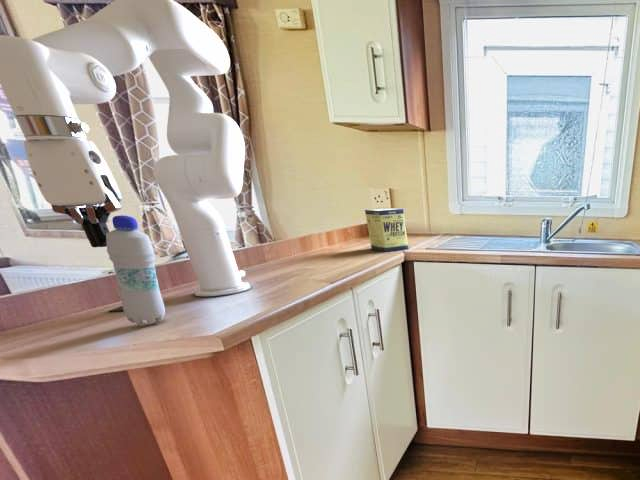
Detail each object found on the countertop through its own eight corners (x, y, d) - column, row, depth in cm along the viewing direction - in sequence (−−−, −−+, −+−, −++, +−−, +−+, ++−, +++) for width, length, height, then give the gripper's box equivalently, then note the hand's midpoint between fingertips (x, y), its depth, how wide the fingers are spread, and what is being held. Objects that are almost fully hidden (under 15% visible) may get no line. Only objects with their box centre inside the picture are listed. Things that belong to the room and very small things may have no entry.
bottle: (162, 314, 89) (141, 213, 80) (173, 323, 85) (152, 219, 77) (120, 318, 84) (93, 211, 76) (130, 328, 80) (102, 217, 72)
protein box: (385, 251, 170) (379, 210, 164) (370, 248, 181) (364, 209, 175) (409, 248, 176) (403, 208, 169) (393, 245, 187) (387, 208, 180)
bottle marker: (125, 306, 99) (124, 305, 99) (147, 305, 100) (147, 303, 100) (108, 312, 95) (108, 310, 95) (132, 310, 95) (131, 309, 95)
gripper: (118, 133, 74) (159, 242, 82) (28, 135, 73) (78, 245, 81) (82, 127, 67) (130, 247, 75) (-18, 130, 66) (42, 251, 74)
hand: (103, 246), depth 78 cm, fingers closed
